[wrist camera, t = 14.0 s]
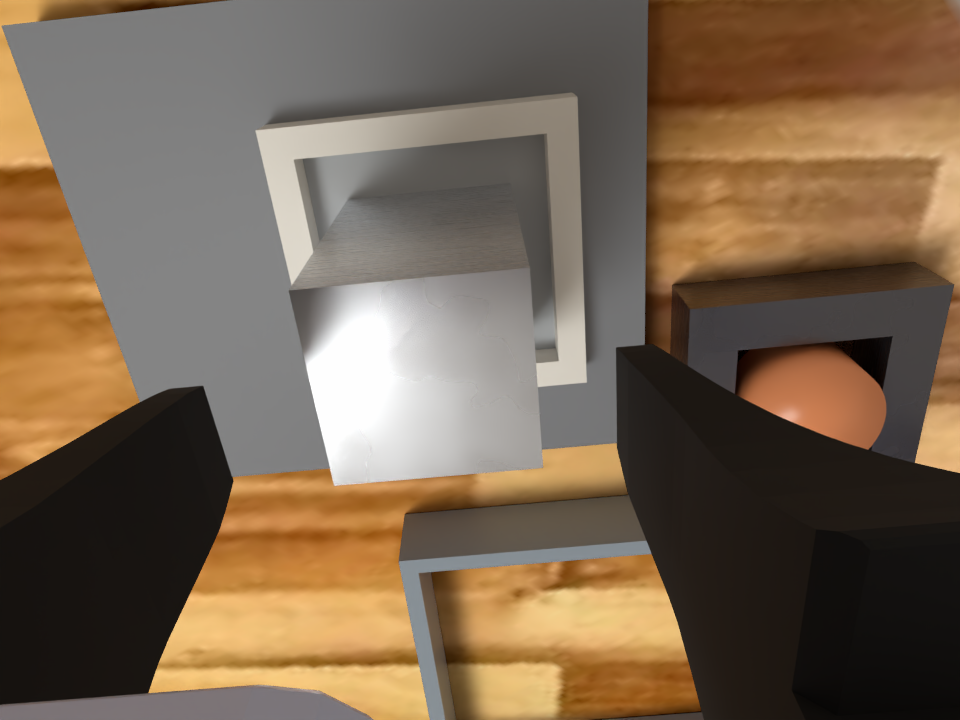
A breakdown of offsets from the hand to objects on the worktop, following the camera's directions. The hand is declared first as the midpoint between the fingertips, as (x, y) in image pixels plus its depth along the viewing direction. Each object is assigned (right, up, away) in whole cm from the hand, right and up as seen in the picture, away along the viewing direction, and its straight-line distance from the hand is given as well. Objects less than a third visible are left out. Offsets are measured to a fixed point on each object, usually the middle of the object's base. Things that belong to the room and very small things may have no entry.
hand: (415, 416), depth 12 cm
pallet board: (-2, +4, +9) cm, 10 cm away
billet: (0, +4, +8) cm, 9 cm away
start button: (+11, 0, +11) cm, 16 cm away
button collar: (+11, 0, +12) cm, 16 cm away
